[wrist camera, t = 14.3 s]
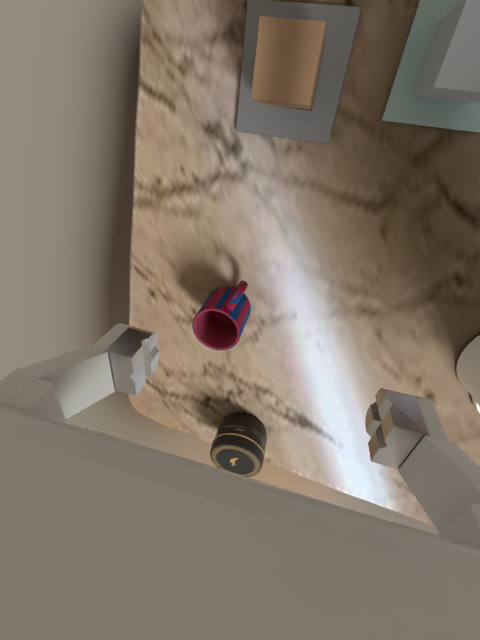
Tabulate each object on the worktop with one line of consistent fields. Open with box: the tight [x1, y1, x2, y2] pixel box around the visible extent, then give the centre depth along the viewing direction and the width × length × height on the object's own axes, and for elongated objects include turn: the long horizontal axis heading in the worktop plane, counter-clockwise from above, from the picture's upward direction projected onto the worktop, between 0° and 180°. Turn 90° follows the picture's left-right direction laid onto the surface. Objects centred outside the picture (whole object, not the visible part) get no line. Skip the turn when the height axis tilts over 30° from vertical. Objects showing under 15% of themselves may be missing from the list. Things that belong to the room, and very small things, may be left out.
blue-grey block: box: [413, 0, 480, 103], centre depth 22 cm, size 5×5×6 cm
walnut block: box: [251, 16, 326, 111], centre depth 25 cm, size 5×5×6 cm
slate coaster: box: [236, 0, 362, 144], centre depth 28 cm, size 10×10×1 cm
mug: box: [193, 280, 251, 350], centre depth 40 cm, size 7×10×7 cm
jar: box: [210, 413, 267, 477], centre depth 55 cm, size 10×10×8 cm
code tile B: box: [381, 0, 480, 133], centre depth 25 cm, size 9×9×1 cm
